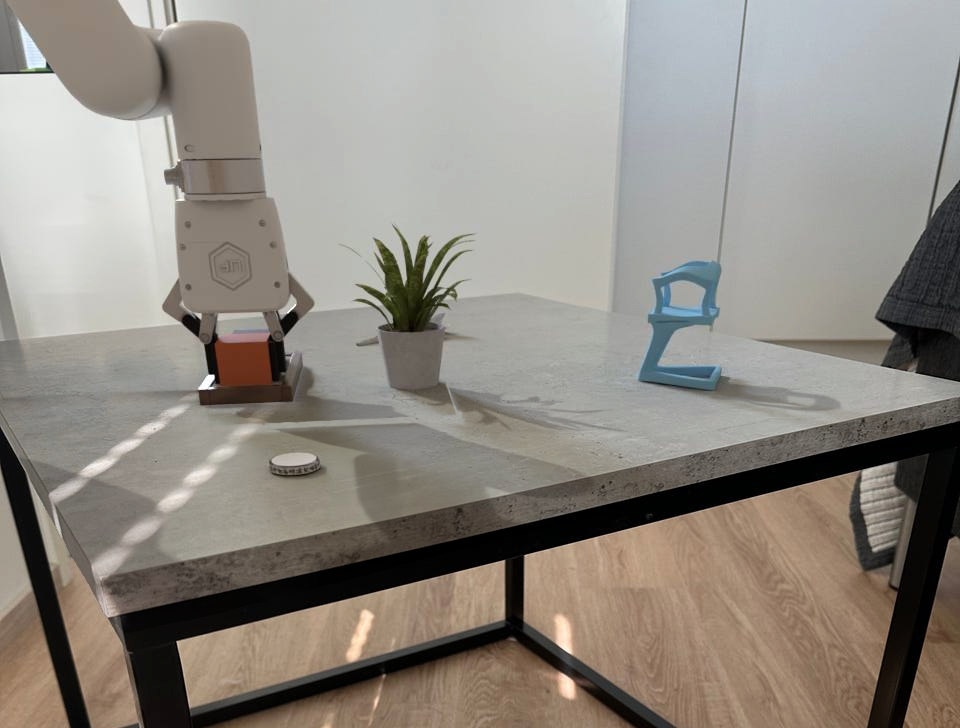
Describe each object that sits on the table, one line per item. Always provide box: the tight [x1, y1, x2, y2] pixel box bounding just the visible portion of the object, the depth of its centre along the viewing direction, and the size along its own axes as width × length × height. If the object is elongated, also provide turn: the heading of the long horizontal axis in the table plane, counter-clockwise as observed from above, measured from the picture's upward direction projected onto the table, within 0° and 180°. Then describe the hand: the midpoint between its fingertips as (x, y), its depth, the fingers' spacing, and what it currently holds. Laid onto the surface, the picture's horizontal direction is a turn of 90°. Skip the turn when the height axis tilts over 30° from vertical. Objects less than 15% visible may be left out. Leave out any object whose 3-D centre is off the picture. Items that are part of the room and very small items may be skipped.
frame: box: [197, 351, 304, 407], centre depth 98 cm, size 9×17×2 cm, turn 6°
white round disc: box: [268, 452, 321, 476], centre depth 73 cm, size 4×4×1 cm
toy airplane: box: [355, 312, 457, 347], centre depth 123 cm, size 8×21×2 cm, turn 140°
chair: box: [637, 259, 723, 391], centre depth 96 cm, size 8×8×12 cm
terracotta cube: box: [215, 333, 274, 387], centre depth 93 cm, size 5×5×4 cm
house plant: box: [339, 222, 478, 391], centre depth 93 cm, size 14×14×16 cm
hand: (249, 379), depth 94 cm, fingers closed on terracotta cube, 4 cm apart
